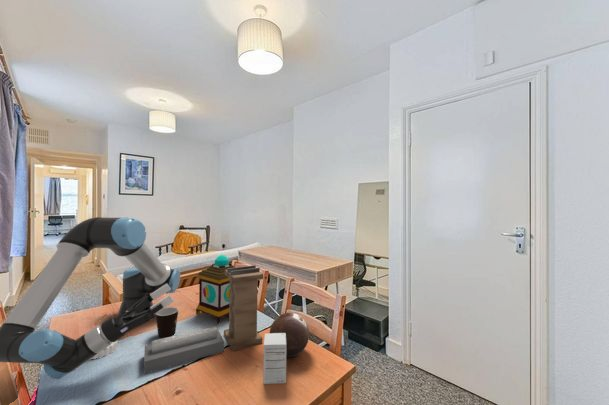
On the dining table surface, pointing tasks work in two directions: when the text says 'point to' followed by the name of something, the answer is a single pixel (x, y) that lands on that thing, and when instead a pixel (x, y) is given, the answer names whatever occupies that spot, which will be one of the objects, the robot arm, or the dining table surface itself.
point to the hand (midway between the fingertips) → (170, 291)
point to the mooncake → (107, 351)
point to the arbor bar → (183, 339)
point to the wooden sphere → (292, 332)
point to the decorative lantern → (215, 289)
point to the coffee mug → (167, 322)
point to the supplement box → (274, 358)
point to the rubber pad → (181, 353)
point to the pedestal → (243, 307)
